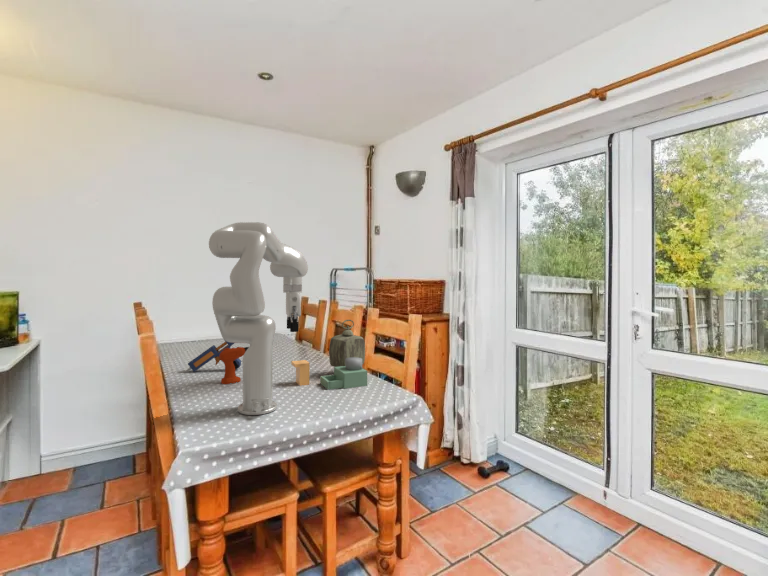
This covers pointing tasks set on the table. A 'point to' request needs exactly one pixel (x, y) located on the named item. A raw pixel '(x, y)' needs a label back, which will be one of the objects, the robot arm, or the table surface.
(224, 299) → the robot arm
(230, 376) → the toy drill
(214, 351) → the glue gun
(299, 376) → the orange rectangular block
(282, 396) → the table surface
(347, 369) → the green drawer box
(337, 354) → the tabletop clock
